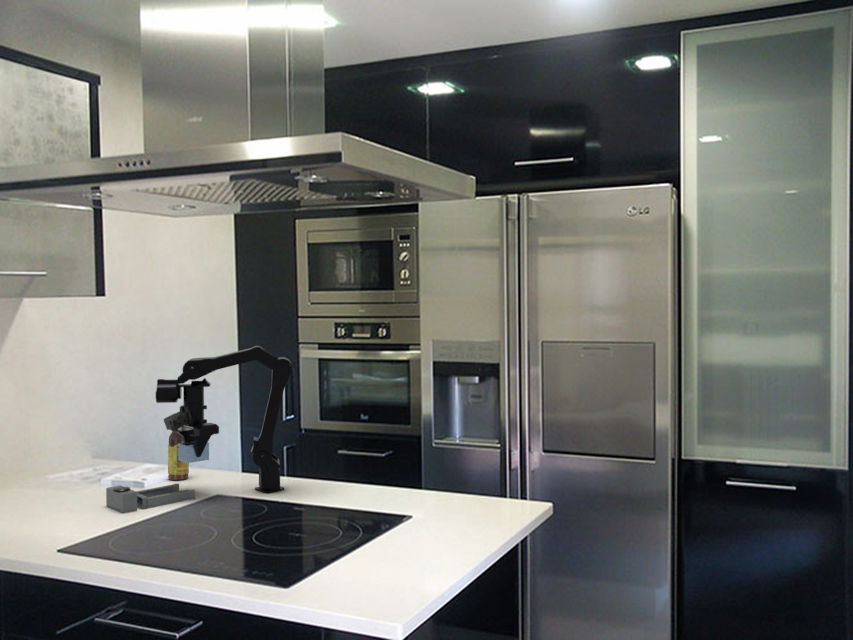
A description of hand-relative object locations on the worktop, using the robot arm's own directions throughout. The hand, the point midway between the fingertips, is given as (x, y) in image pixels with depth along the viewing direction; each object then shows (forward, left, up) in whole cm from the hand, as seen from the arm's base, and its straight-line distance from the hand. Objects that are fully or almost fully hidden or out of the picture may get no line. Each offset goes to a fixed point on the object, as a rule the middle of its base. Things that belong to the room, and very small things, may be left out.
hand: (193, 455), depth 229 cm
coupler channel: (0, +13, -11) cm, 17 cm away
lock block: (0, 0, -1) cm, 1 cm away
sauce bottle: (+20, -6, -11) cm, 24 cm away
